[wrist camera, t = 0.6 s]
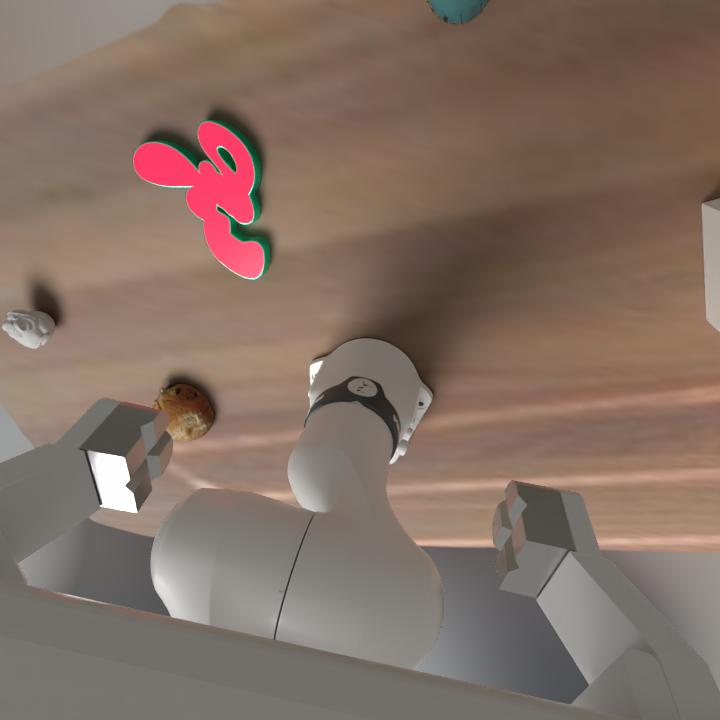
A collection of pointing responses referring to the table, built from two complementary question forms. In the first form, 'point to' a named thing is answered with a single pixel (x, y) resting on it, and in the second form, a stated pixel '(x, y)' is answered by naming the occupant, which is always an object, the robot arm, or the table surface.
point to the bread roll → (185, 411)
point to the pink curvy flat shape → (215, 191)
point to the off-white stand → (712, 260)
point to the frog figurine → (29, 327)
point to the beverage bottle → (457, 9)
